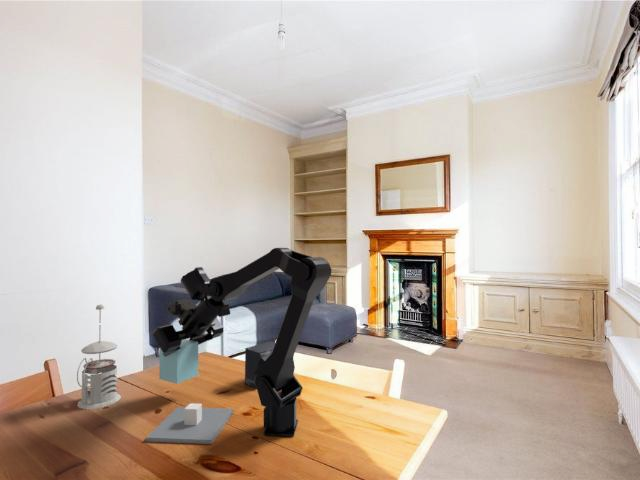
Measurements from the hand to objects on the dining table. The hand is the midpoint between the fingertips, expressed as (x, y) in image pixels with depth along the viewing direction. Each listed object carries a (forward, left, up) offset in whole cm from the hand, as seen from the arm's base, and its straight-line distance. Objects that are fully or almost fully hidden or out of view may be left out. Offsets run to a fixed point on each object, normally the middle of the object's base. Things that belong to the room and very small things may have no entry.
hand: (175, 351), depth 96 cm
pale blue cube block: (-1, +1, -7) cm, 7 cm away
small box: (-21, -12, -12) cm, 28 cm away
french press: (+19, +5, -12) cm, 23 cm away
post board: (-11, +15, -12) cm, 22 cm away
